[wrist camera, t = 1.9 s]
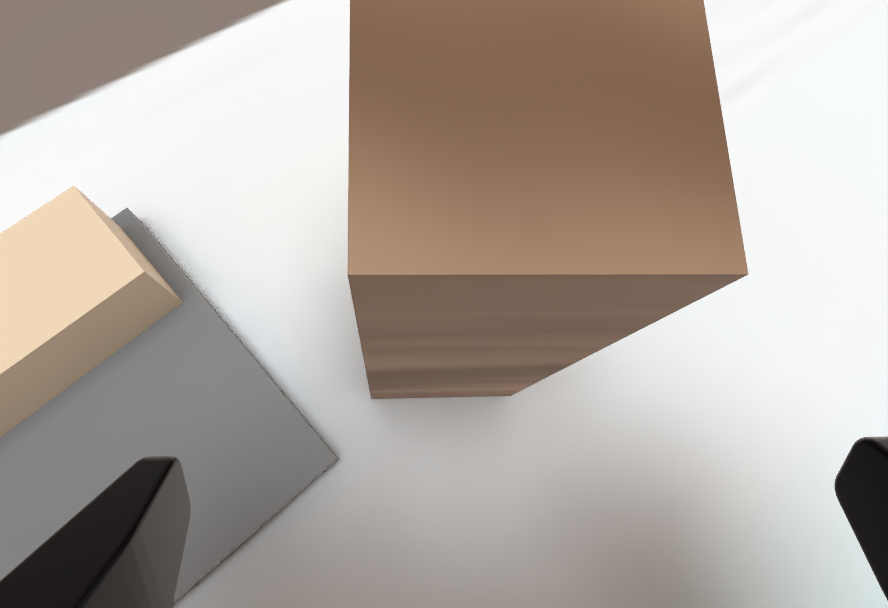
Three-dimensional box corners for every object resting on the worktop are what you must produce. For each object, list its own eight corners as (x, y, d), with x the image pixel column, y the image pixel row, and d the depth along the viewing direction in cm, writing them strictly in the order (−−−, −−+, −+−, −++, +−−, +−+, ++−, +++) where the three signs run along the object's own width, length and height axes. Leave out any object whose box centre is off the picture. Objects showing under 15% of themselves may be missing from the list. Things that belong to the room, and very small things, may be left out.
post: (510, 395, 19) (748, 274, 7) (371, 398, 19) (347, 275, 6) (502, 264, 20) (694, -52, 8) (371, 264, 20) (351, -71, 7)
